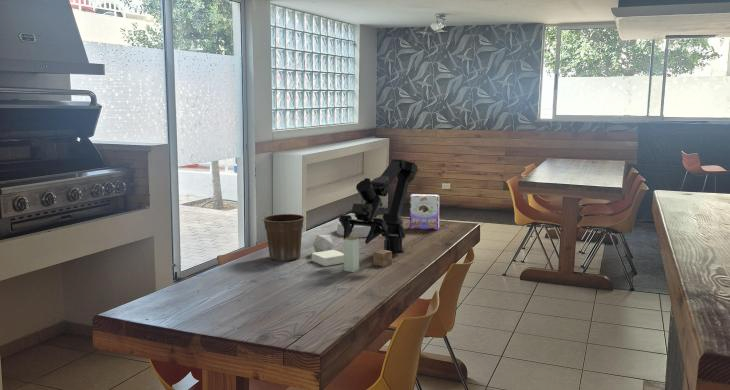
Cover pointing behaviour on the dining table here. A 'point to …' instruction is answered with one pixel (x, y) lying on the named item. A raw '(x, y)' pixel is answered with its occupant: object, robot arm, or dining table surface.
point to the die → (323, 243)
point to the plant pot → (284, 236)
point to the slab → (328, 257)
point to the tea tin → (351, 254)
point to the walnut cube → (382, 257)
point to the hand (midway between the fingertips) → (355, 241)
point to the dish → (355, 230)
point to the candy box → (424, 211)
